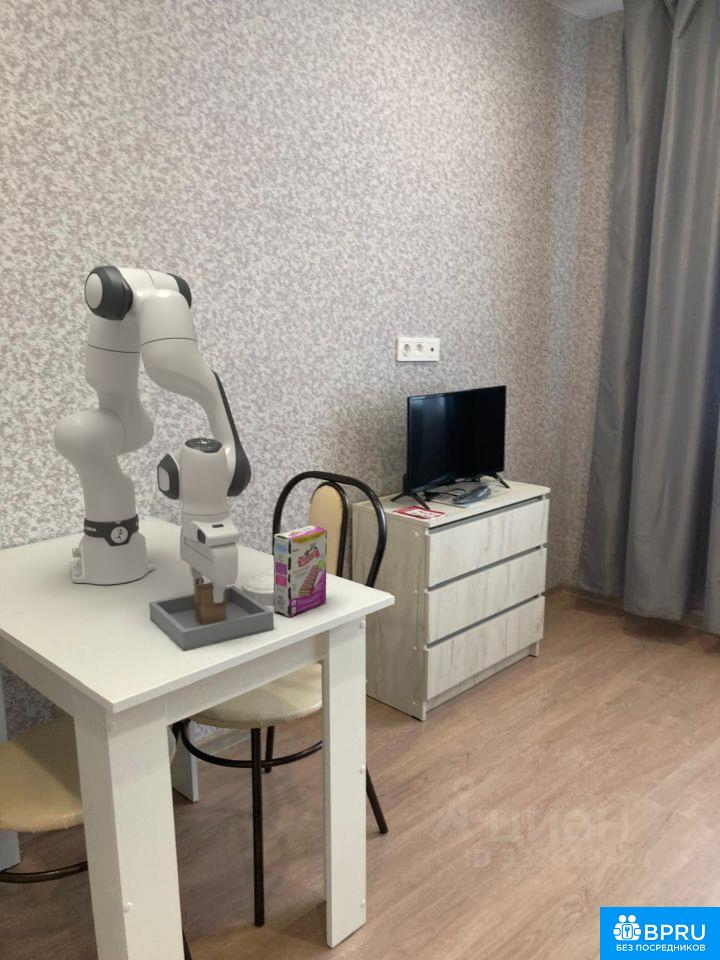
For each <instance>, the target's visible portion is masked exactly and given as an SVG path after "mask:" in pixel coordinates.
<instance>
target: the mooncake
mask: <svg viewBox="0 0 720 960" xmlns="http://www.w3.org/2000/svg"><path fill="white" fill-rule="evenodd" d="M241 591H242V592H244V593H245V594H247V595H248V596H250V597H251V598H253V599H254V600H256V601H257V602H259V603H261V604H262V605H264V606H265V607H267V606H269V607H270V606H271V607H272V606H273V607H274V573H272V574H259V575H256V576H252V577H250V578H247V579H246V580H244V581H243V582H242V584H241Z"/></svg>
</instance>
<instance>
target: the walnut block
mask: <svg viewBox="0 0 720 960" xmlns="http://www.w3.org/2000/svg"><path fill="white" fill-rule="evenodd" d="M193 587H194V588H193V589H194V591H193V592H194V593H195V619H196V621H198V622H199V623H200V624H201V625H202V626H204V625H208V624H212V623H217V622H221V621H226V594H225V590H224V593H223V601H222V602H220V603H215V602H213V601H212V599H211V598H212V596H211V592H213V589H214V586H213V582H212V581H211V582H205V583H204V584H200V585H195V586H193ZM194 593H193V594H194Z"/></svg>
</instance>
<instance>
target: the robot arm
mask: <svg viewBox="0 0 720 960" xmlns="http://www.w3.org/2000/svg"><path fill="white" fill-rule="evenodd" d="M83 292H84V299H85V303H86V306H87V307H88V309H89V310H90V311H91V313H92V315H91V320H90V324H89V328H88V334H87V345H86V355H85V367H84V379H85V381H86V383H87V384H88V385H89V386H90V387H91V388H92V389H93V390H95V392H96V395H97V398H98V407H97V408H96V409H88V410H81V411H80V410H79V411H76V412H73V413H72V414H68V415H67V416H64V417H62V418H61V419H59V420H58V421H57V422H56V423H55V426H54V429H53V433H52V434H53V435H52V436H53V438H52V439H53V444H54V446H55V449H56V451H58V453H59V454H60V456H62V457H63V458H64V459H65V460H67V461H68V462H69V463H70V464H71V465H72V466H73V467H74V469H75V471H76V473H77V475H78V477H79V479H80V483H81V487H82V492H83V493H82V494H83V500H84V501H83V502H84V511H85V516H84V518H83V524H82V525H83V526H82V527H83V536H82V538H81V539H80V541H79V542H78V547H73V548H72V549H71V551H72V558H73V560H71V561H70V565H69V566H70V567H69V568H70V574H71V582H72V583H75V584H76V583H77V584H91V585H92V584H93V585H117V584H124V583H129V582H133V581H136V580H138V579H141V578H143V577H145V576H146V575H147V574H148V573H149V572H151V571H154V570H155V563H152V562H150V561H149V556H148V548H147V540H146V537H145V535H143V534H142V533H140V531H139V529H140V526H139V525H140V519H139V515H138V514H137V507H136V505H137V504H136V488H135V486H136V485H135V483H134V481H133V480H132V478H131V477H129V476H128V475H127V474H125V473H123V471H122V469H121V467H120V464H119V462H118V456H120V455H126V454H130V453H134V452H136V451H138V450H140V449H142V448H143V447H145V446H147V445H148V444H150V442H151V441H152V440H153V437H154V433H155V426H154V421H153V419H152V416H151V415H150V414H149V413H148V412H147V411H146V410H145V408H144V407H143V404H142V401H141V398H140V391H139V369H140V358H141V359H142V364H143V366H144V371H145V373H146V375H147V376H148V377H149V379H150V380H151V381H152V382H153V383H154V384H155V385H157V386H158V387H160V388H162V389H163V390H166V391H167V392H170V393H173V394H176V395H179V396H183V397H185V398H188V399H190V400H192V401H194V402H195V403H197V404H198V405H199V406H200V407H201V409H203V411H204V412H205V415H206V417H207V420H208V424H209V428H210V431H211V435H212V436H213V437H212V438H213V439H212V438H208V437H194V438H190V439H188V440H186V441H184V442H183V443H182V446H181V449H179V450H176V451H174V452H169V453H167V454H166V455H164V456H163V457H162V459H161V460H160V461H159V463H158V465H157V468H156V469H157V470H156V471H157V474H156V477H157V487H158V490H159V491H160V493H162V494H163V495H164V496H165V497H167V498H168V499H169V500H173V501H182V507H181V528H180V533H179V534H180V535H179V541H180V542H179V555H180V557H181V560H182V561H183V562H184V563H186V564H188V565H189V572H190V574H191V578H192V586H193V587H194V586H195V585H200V584H205V579H204V577H205V578H206V579H208V580H209V581H211V582H213V586H214V589H213V592H211V596H212V598H211V599H212V601H213V602H215V603H220V602H222V601H223V593H224V590H225V587H227V586H231V585H235V583H236V582H237V580H238V576H239V575H238V571H239V552H238V551H239V550H238V546H237V544H236V543H238V542H240V532H239V530H238V528H237V526H236V525H235V524H234V522H233V520H232V517H231V516H230V505H229V502H228V498H229V497H231V498H232V497H235V498H236V497H238V496H240V495H241V494H242V493H243V492H244V491H245V490H246V488H247V487H248V486H249V484H250V482H251V481H252V480H251V479H252V468H251V464H250V461H249V457H248V456H247V453H246V451H245V450H244V447H243V446H242V442H241V439H240V437H239V433H238V430H237V427H236V424H235V421H234V417H233V414H232V410H231V407H230V404H229V400H228V398H227V395H226V391H225V389H224V386H223V384H222V381H221V379H220V376H219V375H218V373H217V372H216V371H214V370H213V369H211V368H210V367H209V366H208V364H207V363H206V362H205V360H204V359H203V356H202V354H201V352H200V348H199V343H198V337H197V331H196V327H195V322H194V320H193V319H194V318H193V315H192V311H191V308H192V303H193V301H192V300H193V297H192V292H191V288H190V286H189V284H188V282H187V281H186V280H185V279H184V278H182V277H180V276H178V275H176V274H174V273H170V272H167V273H165V272H161V271H157V270H153V269H150V268H149V269H148V268H143V267H140V268H137V267H136V268H135V267H123V266H122V267H121V266H120V267H117V266H115V265H102V266H97V267H94V268H93V269H92V270H91V271H90V272H89V274H87V277H86V280H85V284H84V290H83ZM203 576H204V577H203Z"/></svg>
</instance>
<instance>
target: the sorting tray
mask: <svg viewBox="0 0 720 960" xmlns="http://www.w3.org/2000/svg"><path fill="white" fill-rule="evenodd" d="M225 594H226V621H221V622H217V623H212V624H208V625H204V626H202V625H201V624H200V623H199V622H198V621H196V619H195V593H190V594H185V595H180V596H175V597H170V598H164V599H160V600H155V601H150V602H149V620H150V621H152V622H153V623H154V624H155V625H156V626H157V627H158V628H159V629H160V630H161V631H162V632H163V633H164V634H165V635H166V636H167V637H168V638H170V639H171V641H173V642H174V643H175V645H176V646H178V647H179V648H180V649H181V650H182V651H183V652H185V651H189V650H192V649H193V650H194V649H197V648H202V647H207V646H209V645H214V644H217V643H222V642H227V641H231V640H235V639H239V638H243V637H244V638H245V637H247V636H252V635H256V634H259V633H264V632H268V631H272V630H274V629H275V628H274V627H275V626H274V610H271V609H270V608H268V607H267V606H264V605H262V604H261V603H259V602H257V601H256V600H254V599H253V598H251V597H250V596H248V595H247V594H245V593H244V592H242V589H239V588H238V587H236V586H235V585H229V586H226V587H225Z"/></svg>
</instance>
